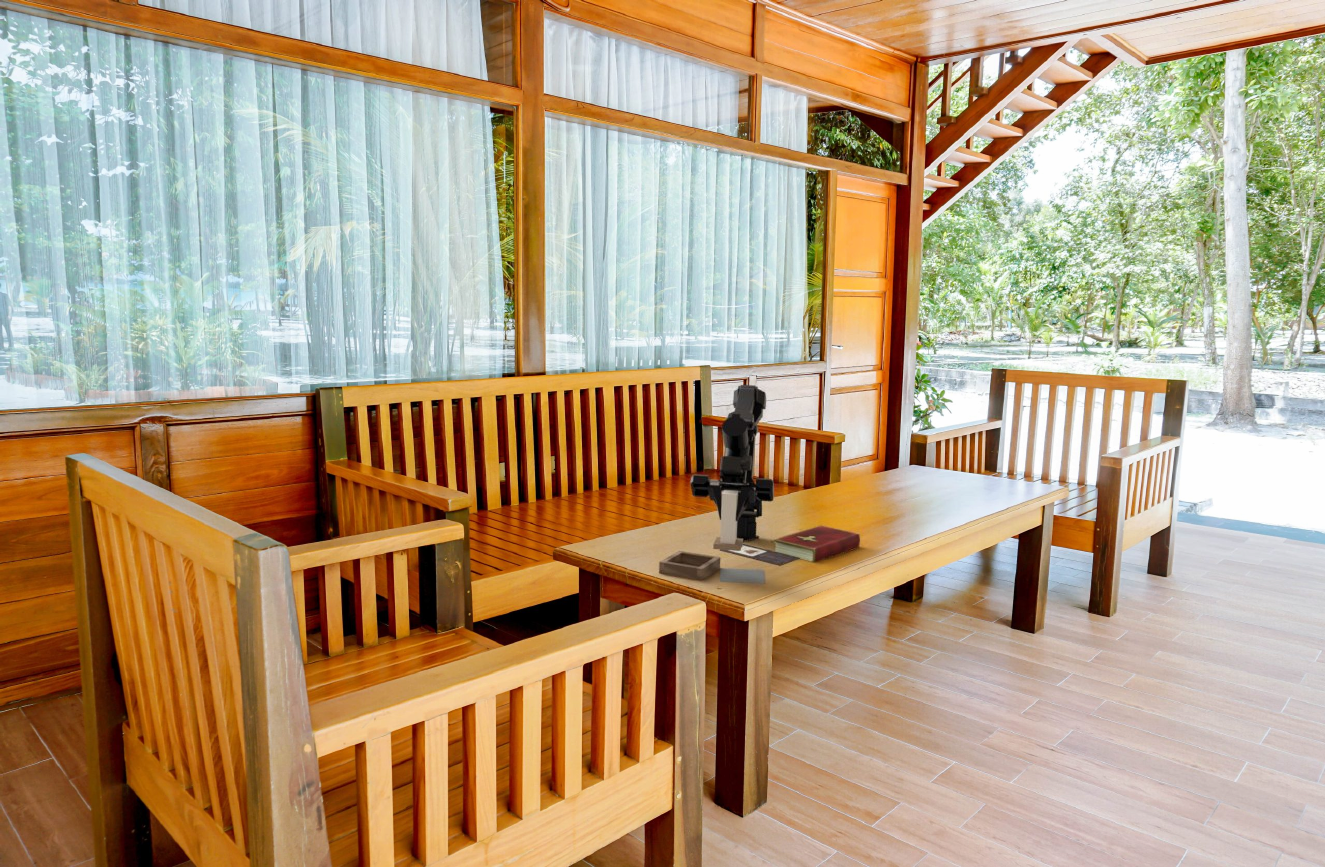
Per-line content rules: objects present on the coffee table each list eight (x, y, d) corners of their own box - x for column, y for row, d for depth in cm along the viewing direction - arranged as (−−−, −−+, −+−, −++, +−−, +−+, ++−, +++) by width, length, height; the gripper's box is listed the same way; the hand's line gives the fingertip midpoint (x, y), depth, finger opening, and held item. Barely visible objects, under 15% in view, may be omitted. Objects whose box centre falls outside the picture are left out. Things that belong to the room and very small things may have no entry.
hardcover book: (859, 548, 227) (860, 532, 226) (813, 565, 212) (814, 548, 211) (820, 539, 235) (820, 524, 234) (773, 554, 220) (773, 538, 219)
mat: (720, 569, 205) (720, 567, 205) (764, 571, 205) (764, 569, 205) (719, 582, 196) (719, 581, 196) (765, 584, 195) (765, 583, 195)
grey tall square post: (716, 541, 203) (718, 488, 201) (742, 543, 202) (744, 490, 200) (713, 548, 197) (715, 494, 195) (740, 550, 196) (742, 495, 194)
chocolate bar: (779, 565, 208) (719, 549, 220) (779, 569, 208) (719, 553, 220) (800, 557, 215) (741, 543, 227) (800, 561, 215) (740, 546, 227)
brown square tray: (678, 562, 210) (679, 550, 210) (720, 568, 206) (720, 557, 205) (659, 573, 201) (659, 561, 200) (701, 581, 196) (702, 569, 196)
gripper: (692, 439, 202) (683, 497, 193) (775, 443, 198) (769, 502, 189) (697, 467, 210) (688, 523, 201) (776, 471, 207) (770, 529, 198)
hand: (728, 519), depth 197 cm, fingers closed on grey tall square post, 3 cm apart
